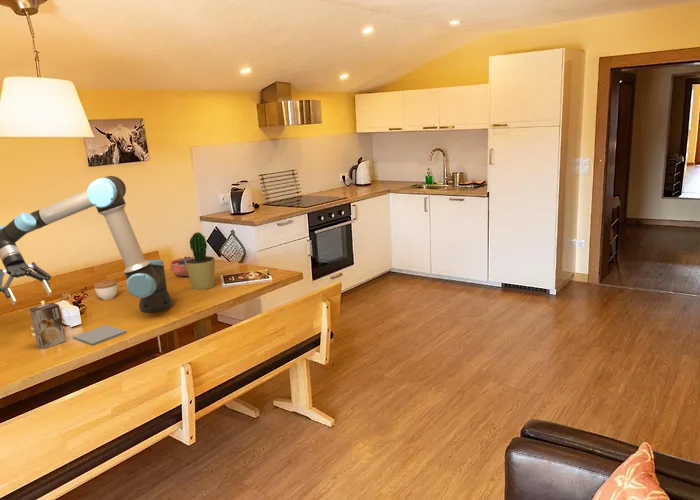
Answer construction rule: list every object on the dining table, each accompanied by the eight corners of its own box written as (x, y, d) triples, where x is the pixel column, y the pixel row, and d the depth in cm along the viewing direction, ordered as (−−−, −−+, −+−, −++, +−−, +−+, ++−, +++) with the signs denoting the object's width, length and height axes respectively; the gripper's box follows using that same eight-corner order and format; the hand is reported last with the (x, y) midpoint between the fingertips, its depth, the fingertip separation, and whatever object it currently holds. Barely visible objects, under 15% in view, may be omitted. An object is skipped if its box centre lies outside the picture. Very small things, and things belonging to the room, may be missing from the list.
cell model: (192, 269, 326) (190, 250, 323) (209, 274, 312) (206, 255, 309) (165, 275, 315) (163, 256, 312) (181, 281, 301) (178, 262, 298)
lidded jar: (105, 294, 285) (102, 277, 283) (123, 294, 283) (120, 277, 281) (91, 301, 275) (88, 283, 273) (110, 301, 273) (107, 283, 270)
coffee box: (60, 338, 227) (53, 301, 223) (66, 341, 223) (59, 304, 219) (36, 345, 220) (29, 308, 217) (43, 349, 216) (35, 311, 212)
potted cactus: (201, 281, 299) (195, 227, 292) (224, 283, 292) (217, 228, 285) (181, 289, 285) (174, 233, 278) (204, 292, 279) (197, 235, 272)
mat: (106, 326, 238) (106, 324, 238) (126, 332, 229) (126, 330, 229) (73, 338, 226) (72, 336, 226) (92, 345, 217) (92, 343, 217)
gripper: (41, 257, 242) (62, 295, 236) (-23, 270, 223) (-3, 312, 217) (44, 246, 237) (65, 285, 231) (-21, 259, 219) (0, 301, 213)
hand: (32, 298), depth 224 cm, fingers open, 13 cm apart
